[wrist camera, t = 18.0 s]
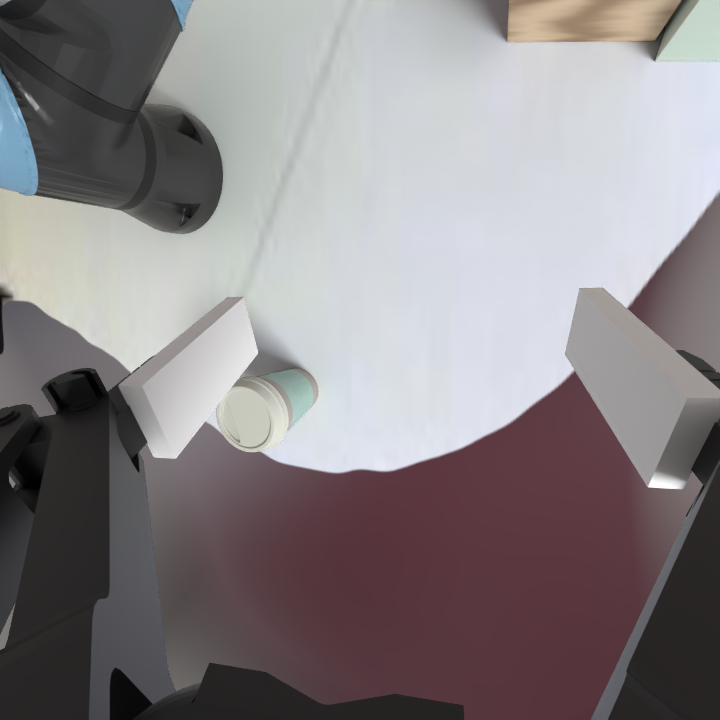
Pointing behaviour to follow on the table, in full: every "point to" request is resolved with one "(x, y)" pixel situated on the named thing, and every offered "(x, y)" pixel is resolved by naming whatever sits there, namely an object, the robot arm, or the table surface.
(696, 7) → the green pedestal
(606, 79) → the table surface
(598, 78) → the table surface
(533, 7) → the oak stand
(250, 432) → the coffee cup
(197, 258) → the table surface
